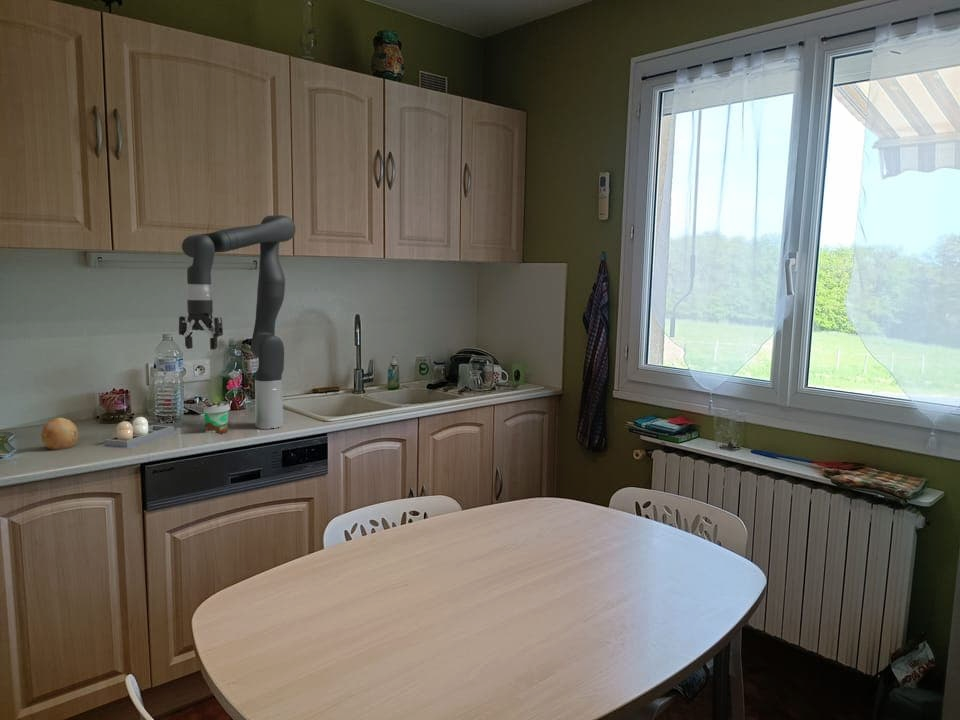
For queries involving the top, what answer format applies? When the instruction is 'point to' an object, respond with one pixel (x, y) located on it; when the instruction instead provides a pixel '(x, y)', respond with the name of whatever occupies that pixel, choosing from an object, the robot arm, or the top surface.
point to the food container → (216, 417)
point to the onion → (59, 434)
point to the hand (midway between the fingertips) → (201, 348)
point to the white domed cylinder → (140, 426)
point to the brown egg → (124, 431)
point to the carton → (141, 437)
